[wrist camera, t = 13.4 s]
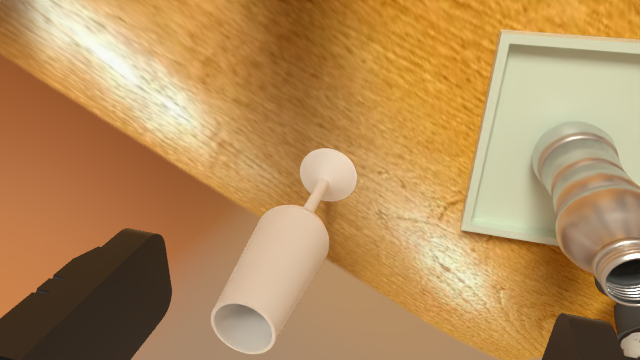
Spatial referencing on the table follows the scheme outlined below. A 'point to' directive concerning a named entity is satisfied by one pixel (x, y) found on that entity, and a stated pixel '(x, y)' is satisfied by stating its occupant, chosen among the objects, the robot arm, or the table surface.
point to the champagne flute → (281, 258)
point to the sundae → (627, 327)
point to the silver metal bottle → (593, 206)
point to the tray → (546, 123)
